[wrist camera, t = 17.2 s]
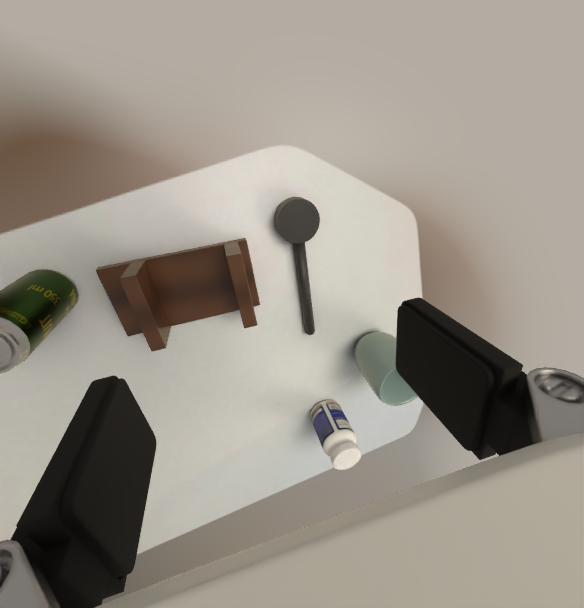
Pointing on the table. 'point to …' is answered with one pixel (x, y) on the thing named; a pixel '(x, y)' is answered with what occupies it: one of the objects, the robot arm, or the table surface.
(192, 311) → the rack
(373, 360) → the cup
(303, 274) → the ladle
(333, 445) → the pill bottle
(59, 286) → the beer can
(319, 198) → the table surface
